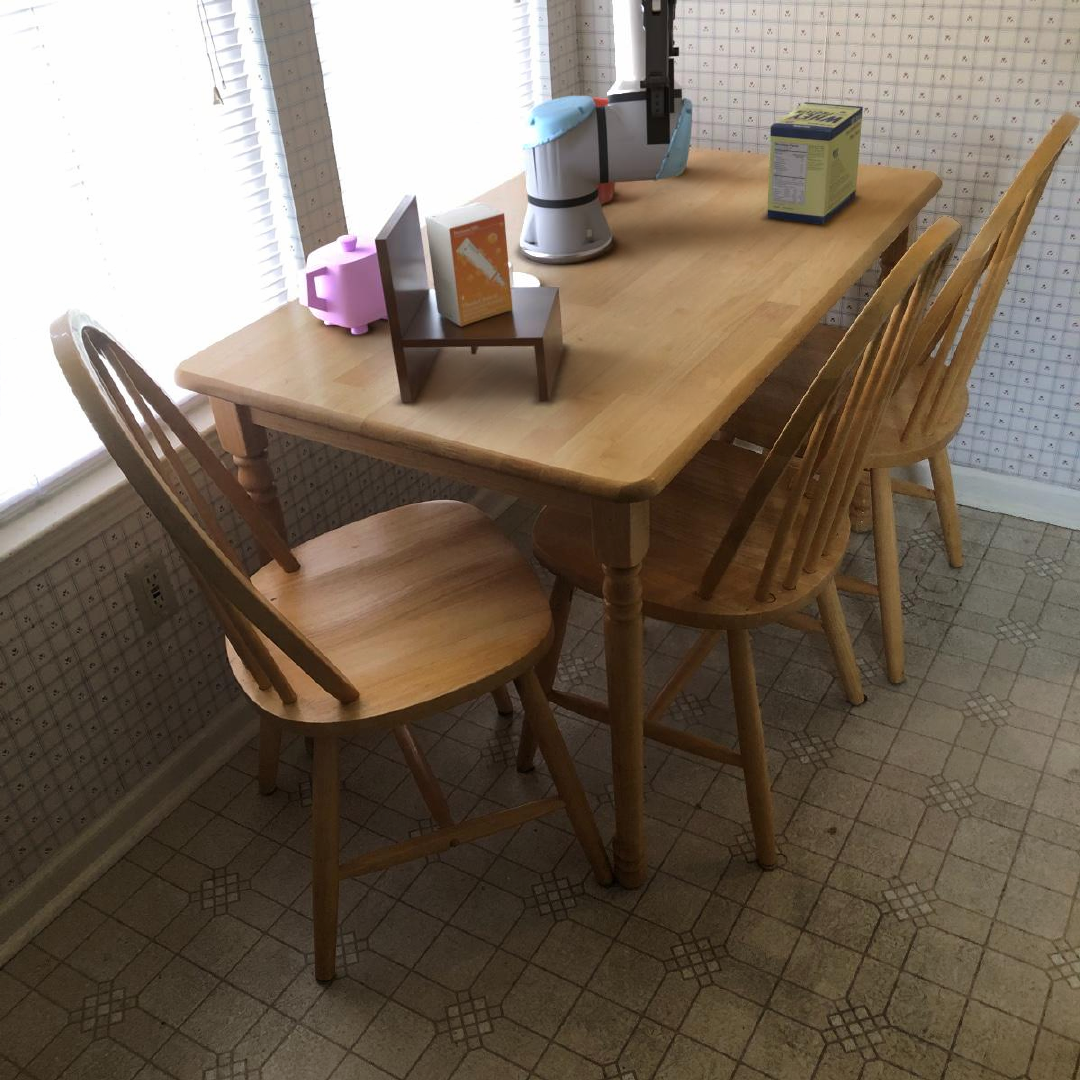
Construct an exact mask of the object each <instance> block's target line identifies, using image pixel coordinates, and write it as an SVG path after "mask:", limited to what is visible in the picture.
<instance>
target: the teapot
mask: <svg viewBox="0 0 1080 1080" xmlns="http://www.w3.org/2000/svg"><path fill="white" fill-rule="evenodd" d="M297 279H298V281H297V283H298V297H299V304H300V305H302V306H305V307H308V309H309V310H310V312H311V313H312V315H313V316H314V317H315V318H317V319H319V320H321V321H324V325H327V326H335V325H336V326H339V327H343V328H348V329H350V332H351V334H352V335H362V334H365V333H367V332H368V331H369V327H368V324H369V323H373V322H375V321H377V320H380V319H384V320H388V317H387V311H386V305H385V299H384V293H383V287H382V281H381V275H380V269H379V263H378V257H377V251H376V245H375V238H373V237H370V236H365V235H355V234H345V235H341V236H339V237H338V238H337V239H336V241H333V242H331V243H328V244H325V245H324V246H321V247H319V248H317V249H315V250H313V251H312V252H311V253H309V254H308V256H307V261H306V267H305V268H301V269H299V270H297Z"/></svg>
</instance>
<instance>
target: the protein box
mask: <svg viewBox="0 0 1080 1080" xmlns="http://www.w3.org/2000/svg"><path fill="white" fill-rule="evenodd" d="M863 110H864V106H859V105H846V104H833V103H818V102H809V101H808V102H807V101H805V102H804V103H802V104H800V105H799V106H798V107H797V108H795V109H793V110H792V111H790V112H789V113H787V114H786V115H785V116H783V117H782V118H780V119H779V120H777V121H775V122H773V124H771V125H770V131H769V132H770V134H769V157H768V158H769V160H768V161H769V163H768V166H769V167H768V183H767V185H768V186H767V210H766V211H767V212H766V217H767V219H774V220H782V221H790V222H796V223H797V222H798V223H804V224H805V223H807V224H815V225H821V226H824V225H825V224H826V223H828V222H829V221H830V220H831V219H832V218H834V216H836V215H837V214H838V213H839V212H841V210H843V209H844V208H845V207H846V206H847V205H848V204H850V203H851V202H852V201H853V200H854V199H855V198H856V194H857V183H858V182H857V181H858V171H859V170H858V169H859V160H860V146H861V135H862V122H863V113H864V112H863Z"/></svg>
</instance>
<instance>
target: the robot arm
mask: <svg viewBox="0 0 1080 1080" xmlns="http://www.w3.org/2000/svg"><path fill="white" fill-rule="evenodd" d="M677 2H678V0H612V6H613V28H614V47H615V48H614V49H615V70H616V71H615V72H616V75H615V76H616V79H615V80H616V81H615V83H614V84H613V85H612V86H611V88H610V89H609V90H608V91H607V99H608V105H607V106H598V107H595V102H594V100H593V99H592V98H591V97H592V96H589V95H568V96H562V97H558V98H554V99H549V100H547V101H544V102H542V103H539V104H538V105H535V106H534V107H532V108H530V109H529V110H527V112H526V113H525V114H524V116H523V118H522V122H521V132H522V133H521V137H522V140H521V147H522V148H523V157H524V159H523V160H524V170H525V171H524V172H525V185H526V195H527V196H526V197H527V208H526V212H525V215H524V221H523V226H522V228H521V229H522V230H521V234H520V241H519V243H520V244H519V245H520V252H521V254H522V255H523V257H525V258H526V259H528V260H530V261H533V262H537V263H542V264H549V265H550V264H551V265H567V264H576V263H582V262H587V261H591V260H594V259H596V258H599V257H601V256H603V255H604V254H606V253H608V252H609V251H610V250H611V248H612V246H613V236H612V231H611V228H610V225H609V223H608V220H607V217H606V214H605V212H604V209H603V207H602V205H601V204H600V201H599V194H598V184H602V183H615V184H616V183H617V184H618V183H629V182H631V183H632V182H644V181H654V182H656V181H658V180H664V179H673V178H677V177H680V176H681V175H682V174H683V173H684V171H685V170H686V167H687V163H688V158H689V153H690V148H691V147H690V146H691V139H692V138H691V137H692V127H693V102H692V100H691V99H688V98H687V97H684V98H683V86H682V85H680V84H679V82H678V81H676V79H675V57H680V47H679V46H675V41H676V40H674V21H675V19H676V9H677Z"/></svg>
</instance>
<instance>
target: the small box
mask: <svg viewBox="0 0 1080 1080" xmlns="http://www.w3.org/2000/svg"><path fill="white" fill-rule="evenodd" d="M424 218H425V225H426V226H425V227H426V233H427V240H428V248H429V255H430V264H431V271H432V280H433V287H434V288H433V289H435V295H436V302H437V309H438V313H439V314H441V315H442V316H444V317H446V318H447V319H449V320H450V321H452V322H454V323H455V324H457V325H459V326H461V327H462V326H464V325H467V324H470V323H473V322H476V321H479V320H482V319H485V318H488V317H491V316H494V315H498V314H501V313H504V312H508V311H511V310H512V298H511V286H510V274H509V263H508V262H509V255H508V253H509V252H508V242H507V231H506V220H505V219H506V218H505V212H502V211H501V210H498V209H496V208H494V207H492V206H490V205H488V204H485V203H484V202H481V201H477V202H474V203H470V204H467V205H464V206H458V207H454V208H450V209H447V210H445V211H442V212H439V213H435V214H431V215H428V216H425V217H424Z"/></svg>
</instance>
